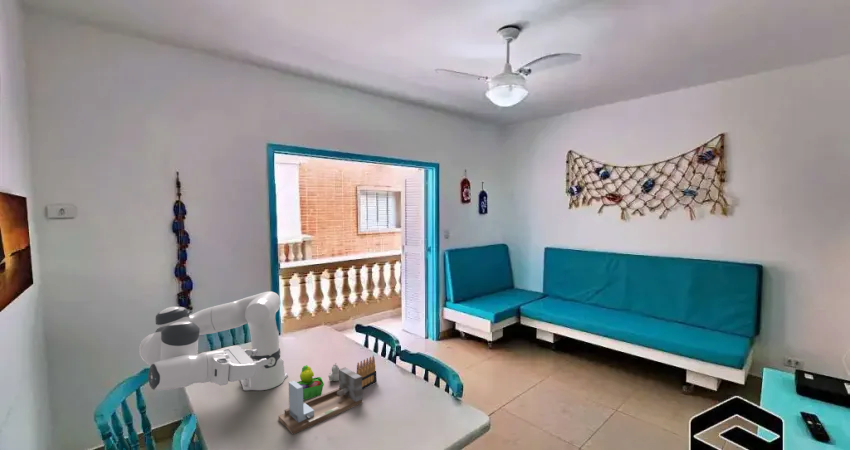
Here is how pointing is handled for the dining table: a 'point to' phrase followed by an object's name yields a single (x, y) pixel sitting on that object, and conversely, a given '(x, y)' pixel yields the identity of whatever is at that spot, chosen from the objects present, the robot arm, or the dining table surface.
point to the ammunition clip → (367, 372)
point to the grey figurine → (334, 373)
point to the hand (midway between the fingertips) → (262, 356)
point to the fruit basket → (310, 383)
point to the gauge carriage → (298, 403)
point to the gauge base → (329, 402)
